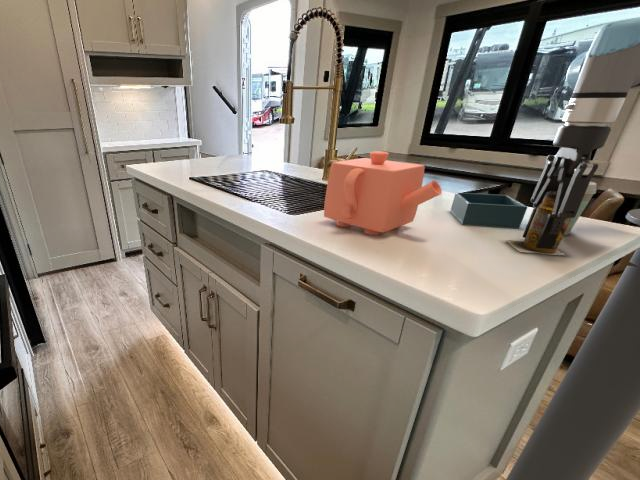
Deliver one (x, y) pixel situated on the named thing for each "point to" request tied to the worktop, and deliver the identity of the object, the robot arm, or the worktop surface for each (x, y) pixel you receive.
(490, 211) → the box
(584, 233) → the worktop surface
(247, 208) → the worktop surface
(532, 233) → the condiment
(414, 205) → the teapot
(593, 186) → the coffee cup
